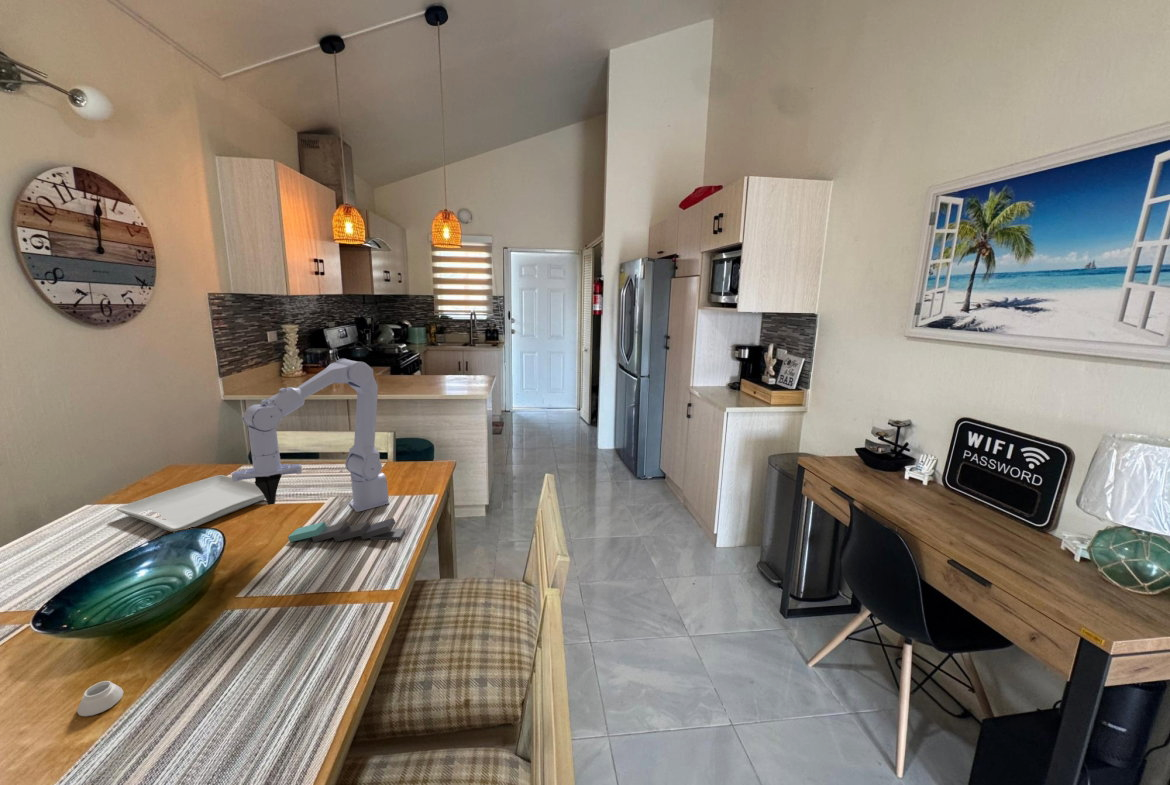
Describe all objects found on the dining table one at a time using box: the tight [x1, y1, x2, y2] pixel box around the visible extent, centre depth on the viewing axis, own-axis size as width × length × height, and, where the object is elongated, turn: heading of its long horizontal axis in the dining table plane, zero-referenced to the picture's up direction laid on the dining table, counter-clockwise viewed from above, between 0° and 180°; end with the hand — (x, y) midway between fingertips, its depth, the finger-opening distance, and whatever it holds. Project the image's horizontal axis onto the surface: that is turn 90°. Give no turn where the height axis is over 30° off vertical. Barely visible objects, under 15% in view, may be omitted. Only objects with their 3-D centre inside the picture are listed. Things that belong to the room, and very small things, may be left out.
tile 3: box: [333, 520, 371, 543], centre depth 124 cm, size 2×4×8 cm
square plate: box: [115, 474, 266, 533], centre depth 139 cm, size 27×27×4 cm
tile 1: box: [369, 527, 406, 541], centre depth 126 cm, size 2×4×8 cm
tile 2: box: [360, 517, 396, 541], centre depth 125 cm, size 2×4×8 cm
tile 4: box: [311, 520, 350, 543], centre depth 124 cm, size 2×4×8 cm
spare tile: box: [287, 521, 328, 543], centre depth 124 cm, size 2×4×8 cm
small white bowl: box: [76, 680, 125, 717], centre depth 74 cm, size 5×3×5 cm
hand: (271, 502), depth 121 cm, fingers closed
